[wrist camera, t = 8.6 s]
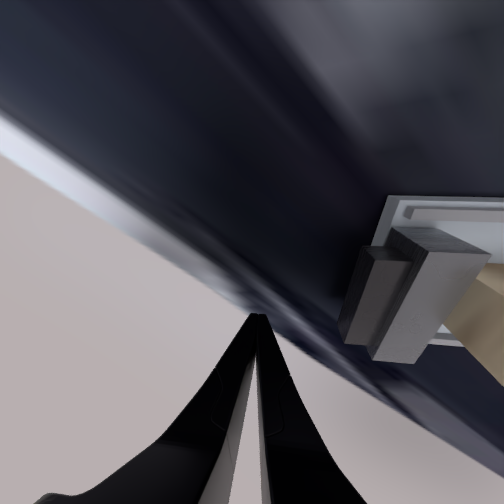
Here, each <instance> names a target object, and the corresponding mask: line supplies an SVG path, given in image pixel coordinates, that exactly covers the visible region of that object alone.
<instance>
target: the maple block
mask: <svg viewBox="0 0 504 504" xmlns="http://www.w3.org/2000/svg"><path fill="white" fill-rule="evenodd" d="M443 325H444V326H445V327H446V328H447V329H448V330H449V331H450V332H451V333H452V334H453V335H454V336H455V337H456V338H457V339H458V340H459V341H460V342H461V343H462V344H463V345H464V347H465V348H466V349H467V350H468V351H469V352H470V353H471V354H472V355H473V356H474V357H475V358H476V359H477V360H478V361H479V362H480V363H481V364H482V365H483V366H484V367H485V368H486V369H487V370H488V371H489V372H490V373H491V374H492V375H493V376H494V377H495V378H496V379H497V381H498V382H499V383H500V384H501V385H502V386H503V387H504V264H498V263H486V265H485V266H484V267H483V269H482V270H481V271H480V273H479V274H478V276H477V277H476V278H475V280H474V281H473V283H472V284H471V285H470V287H469V288H468V289H467V291H466V292H465V294H464V295H463V296H462V298H461V299H460V301H459V302H458V303H457V305H456V306H455V307H454V309H453V310H452V312H451V313H450V314H449V316H448V317H447V319H446V320H445V321H444V323H443Z"/></svg>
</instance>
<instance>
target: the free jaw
mask: <svg viewBox="0 0 504 504" xmlns="http://www.w3.org/2000/svg"><path fill="white" fill-rule="evenodd" d="M491 256H492V254H490V253H488V252H486V251H484V250H482V249H480V248H478V247H476V246H474V245H472V244H469V243H467V242H465V241H463V240H461V239H459V238H457V237H455V236H453V235H451V234H449V233H447V232H444V231H442V230H440V229H438V228H409V227H391V229H390V232H389V235H388V237H387V240H386V242H385V245H384V246H367V245H362V246H361V249H360V253H359V256H358V259H357V262H356V265H355V268H354V271H353V275H352V278H351V281H350V284H349V287H348V290H347V293H346V296H345V300H344V303H343V306H342V309H341V312H340V315H339V318H338V321H337V325H338V328H339V331H340V333H341V336H342V339H343V342H344V343H345V344H357V345H366V348H367V350H368V352H369V354H370V356H371V358H372V360H377V361H388V362H398V363H409V364H414V363H415V361H416V360H417V359H418V357H419V356H420V355H421V353H422V352H423V350H424V349H425V348H426V346H427V345H428V343H429V342H430V341H431V339H432V338H433V337H434V335H435V334H436V332H437V331H438V330H439V328H440V327H441V325H442V324H443V323H444V321H445V320H446V319H447V317H448V316H449V314H450V313H451V312H452V310H453V309H454V307H455V306H456V305H457V303H458V302H459V301H460V299H461V298H462V296H463V295H464V294H465V292H466V291H467V289H468V288H469V287H470V285H471V284H472V283H473V281H474V280H475V278H476V277H477V276H478V274H479V273H480V271H481V270H482V269H483V267H484V266H485V265H486V263H487V262H488V260H489V259H490V258H491Z"/></svg>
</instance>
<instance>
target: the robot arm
mask: <svg viewBox="0 0 504 504" xmlns="http://www.w3.org/2000/svg"><path fill="white" fill-rule="evenodd" d="M255 358H256V371H257V372H256V374H257V395H258V396H257V397H258V420H259V444H260V466H261V490H262V504H367V503H366V502H365V501H364V499H363V498H362V497H361V495H360V494H359V493H358V492H357V490H356V489H355V488H354V487H353V485H352V484H351V483H350V481H349V480H348V479H347V478H346V477H345V475H344V474H343V473H342V471H341V470H340V469H339V467H338V466H337V464H336V463H335V461H334V459H333V458H332V456H331V454H330V453H329V451H328V449H327V447H326V446H325V444H324V442H323V440H322V438H321V436H320V434H319V432H318V431H317V429H316V427H315V425H314V423H313V421H312V419H311V417H310V416H309V414H308V412H307V410H306V408H305V406H304V404H303V402H302V400H301V398H300V396H299V394H298V391H297V389H296V387H295V384H294V382H293V379H292V377H291V376H290V373H289V370H288V367H287V365H286V362H285V360H284V357H283V355H282V352H281V350H280V348H279V345H278V343H277V340H276V338H275V335H274V333H273V330H272V328H271V325H270V323H269V320H268V318H267V315H266V314H257V313H250V314H249V316H248V317H247V319H246V321H245V322H244V324H243V325H242V327H241V328H240V330H239V331H238V333H237V334H236V336H235V337H234V339H233V340H232V342H231V343H230V345H229V346H228V348H227V349H226V351H225V353H224V354H223V356H222V357H221V359H220V360H219V362H218V363H217V365H216V366H215V368H214V369H213V371H212V372H211V374H210V375H209V377H208V378H207V380H206V381H205V382H204V384H203V385H202V387H201V388H200V389H199V390H198V392H197V393H196V394H195V396H194V397H193V398H192V399H191V401H190V402H189V403H188V404H187V405H186V407H185V408H184V409H183V410H182V412H181V413H180V414H179V415H178V417H177V418H176V419H175V420H174V421H173V423H172V424H171V425H170V426H169V427H168V429H167V430H166V431H165V432H164V433H163V434H162V435H161V436H160V437H159V438H158V439H157V440H156V441H155V442H154V443H152V444H151V445H150V446H149V447H147V448H146V449H145V450H143V451H142V452H141V453H139V454H138V455H137V456H135V457H134V458H133V459H132V460H130V461H129V462H127V463H126V464H125V465H124V466H122V467H121V468H120V469H118V470H117V471H116V472H114V473H113V474H112V475H110V476H109V477H108V478H106V479H105V480H104V481H102V482H101V483H100V484H98V485H97V486H95V487H94V488H92V489H90V490H88V491H86V492H85V493H82V494H79V495H74V496H69V495H64V494H57V493H47V494H45V495H43V496H42V497H41V498H40V499H39V500H37V501H36V502H35V503H34V504H228V502H229V497H230V492H231V486H232V481H233V474H234V470H235V465H236V459H237V454H238V449H239V443H240V438H241V433H242V428H243V422H244V417H245V412H246V406H247V401H248V396H249V390H250V385H251V380H252V374H253V369H254V363H255Z"/></svg>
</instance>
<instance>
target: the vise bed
mask: <svg viewBox="0 0 504 504" xmlns="http://www.w3.org/2000/svg"><path fill="white" fill-rule="evenodd" d="M391 227H409V228H438V229H440V230H442V231H444V232H447V233H449V234H451V235H453V236H455V237H457V238H459V239H461V240H463V241H465V242H467V243H469V244H472V245H474V246H476V247H478V248H480V249H482V250H484V251H486V252H488V253H490V254H492V256H491V258H490V259H489V260H488V262H487V263H498V264H504V198H498V197H446V196H394V195H388V197H387V200H386V203H385V206H384V209H383V212H382V215H381V218H380V221H379V223H378V226H377V229H376V232H375V235H374V238H373V241H372V244H371V246H384V245H385V242H386V240H387V237H388V235H389V232H390V229H391ZM428 344H438V345H450V346H462V347H464V345H463V344H462V343H461V342H460V341H459V340H458V339H457V338H456V337H455V336H454V335H453V334H452V333H451V332H450V331H449V330H448V329H447V328H446V327H445V326H444V325H443V324H442V325H441V327H440V328H439V330H438V331H437V332H436V334H435V335H434V337H433V338H432V339H431V341H430V342H429V343H428Z"/></svg>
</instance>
